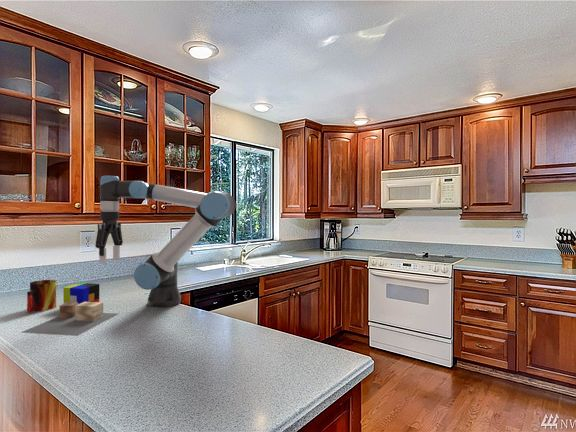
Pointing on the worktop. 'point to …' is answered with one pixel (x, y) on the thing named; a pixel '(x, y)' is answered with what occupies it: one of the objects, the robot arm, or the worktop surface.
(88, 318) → the oak block
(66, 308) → the walnut cube
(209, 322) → the worktop surface
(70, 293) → the puzzle toy
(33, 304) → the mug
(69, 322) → the mat
